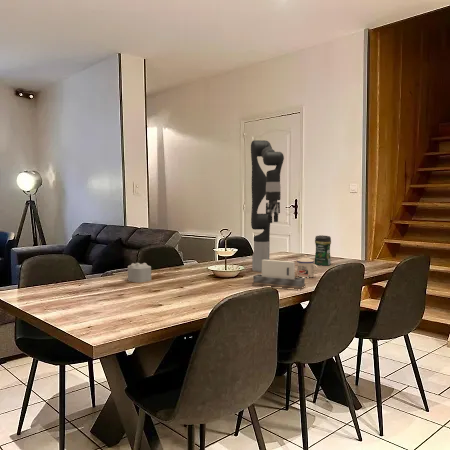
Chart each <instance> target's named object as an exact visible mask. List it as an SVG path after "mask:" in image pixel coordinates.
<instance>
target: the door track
mask: <svg viewBox="0 0 450 450" xmlns="http://www.w3.org/2000/svg"><path fill="white" fill-rule="evenodd" d="M305 279H306V278H299V277H296V276H295V279H284V278H272V277H262V273H258V274H256V275H254V276H253V282H251V283H252V285H251V286H252V287H261V288H264V287H263V286H271V287H282V288H294V289H301V288H302V287H304V286H305V287H306V283H305Z"/></svg>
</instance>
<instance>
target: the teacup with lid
mask: <svg viewBox="0 0 450 450" xmlns="http://www.w3.org/2000/svg"><path fill="white" fill-rule="evenodd" d="M296 262H297V267H296V269H297V270H296V271H297V274H296V275H297V277H298V276H299V277H313V278H314V274H315V275H316V274H317V273H318V272H319V267H318V266H319V265H316V264H315V259H312V258H310V257H308V255H306V254H305V255H303V257H300V258H298V259H297V261H296ZM314 268H315V271H314ZM299 277H298V278H299Z"/></svg>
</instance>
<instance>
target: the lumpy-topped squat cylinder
mask: <svg viewBox="0 0 450 450" xmlns="http://www.w3.org/2000/svg"><path fill="white" fill-rule="evenodd" d="M127 281H129V282H130V283H131V282H133V283H144V282H145V283H146V282H151V281H152V266H151V265H148V264H147V263H146V262H143V263H140V262H135V263H134V262H132V263H131V264H129V265H128V266H127Z"/></svg>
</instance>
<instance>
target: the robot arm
mask: <svg viewBox="0 0 450 450" xmlns="http://www.w3.org/2000/svg"><path fill="white" fill-rule="evenodd" d="M250 157H251V217H250V218H251V220H250V227H251V228H252V230H256V231H258V230H263V231H262V232H261V233H260V234H256V235H254V236H253V254H252V255H251V256H252V258H251V261H252V262H251V263H252V266H251V268H252V269H251V270H252V271H253V272H259V273H260V272H261V273H262V260H270V254H271V253H270V252H271V251H270V240H271V239H270V238H271V237H270V235H271V234H270V233H271V232H270V230H271V224H272V223H273V222H274V223H278V222H279V215H280V214H281V202H280V201H281V191H282V190H281V188H282V187H281V172H282V167H283V162H284V159H285V156H284V153H283V152H281V151H275V149H273V147H272V145H271V143H270V141H268V140H263V139H262V140H261V139H260V140H257V139H255V140H252V141H251V143H250ZM259 157H261V158H262V162H263V164H264V165H265V166H270V167H271V166H272V167H273V166H275V168H274V169H270V170H267V172H266V174H265V172H264V171H263V169H262V168H261V166H260V163H259V159H258V158H259ZM264 198H265V201H268V202H265V213H258V210H259V207H260V205H261V203H262V201H263V199H264Z"/></svg>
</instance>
